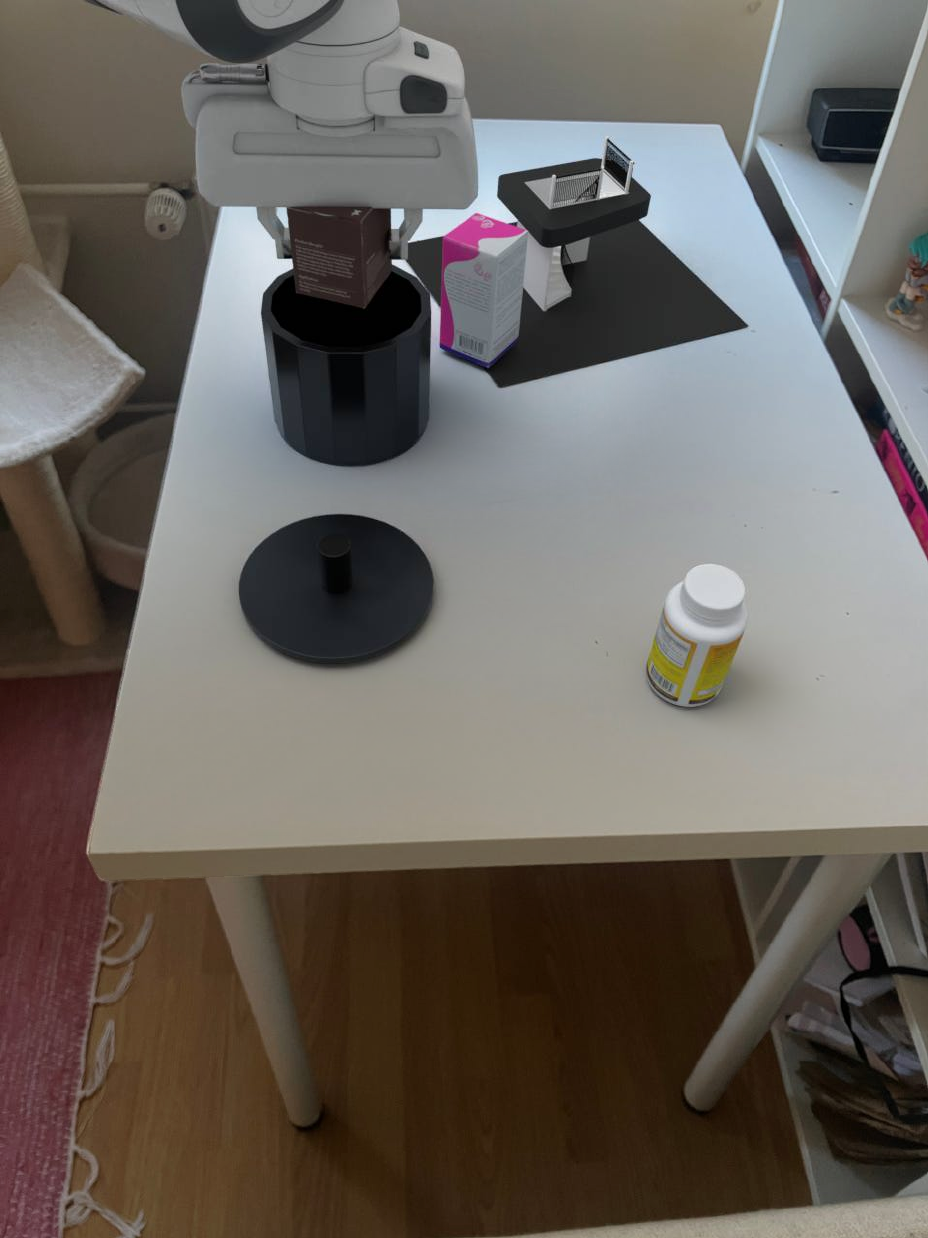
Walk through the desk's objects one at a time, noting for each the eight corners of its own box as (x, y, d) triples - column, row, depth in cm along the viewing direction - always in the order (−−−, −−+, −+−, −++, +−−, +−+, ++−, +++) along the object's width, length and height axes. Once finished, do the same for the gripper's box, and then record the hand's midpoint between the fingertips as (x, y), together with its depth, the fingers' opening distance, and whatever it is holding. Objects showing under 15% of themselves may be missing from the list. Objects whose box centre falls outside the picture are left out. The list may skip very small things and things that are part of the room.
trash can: (271, 467, 85) (255, 352, 76) (280, 369, 94) (266, 256, 85) (431, 465, 86) (434, 352, 77) (425, 368, 95) (427, 257, 86)
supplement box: (520, 339, 98) (531, 229, 89) (488, 369, 94) (496, 258, 85) (470, 319, 99) (476, 209, 91) (436, 347, 96) (439, 236, 87)
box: (394, 272, 81) (393, 184, 75) (365, 312, 77) (362, 222, 72) (325, 256, 82) (319, 167, 76) (293, 294, 78) (284, 204, 73)
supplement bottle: (725, 660, 74) (763, 566, 66) (715, 719, 71) (754, 627, 63) (651, 640, 75) (679, 545, 67) (637, 698, 71) (665, 605, 63)
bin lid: (232, 671, 71) (222, 624, 67) (248, 525, 81) (239, 476, 77) (437, 666, 72) (439, 620, 68) (429, 523, 82) (430, 475, 78)
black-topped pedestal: (499, 388, 93) (510, 257, 83) (395, 246, 108) (394, 120, 98) (748, 326, 102) (786, 200, 91) (619, 202, 116) (640, 82, 106)
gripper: (170, 83, 64) (203, 276, 75) (487, 89, 66) (475, 278, 77) (181, 43, 68) (211, 232, 79) (480, 50, 70) (470, 235, 81)
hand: (343, 255), depth 78 cm, fingers closed on box, 7 cm apart
